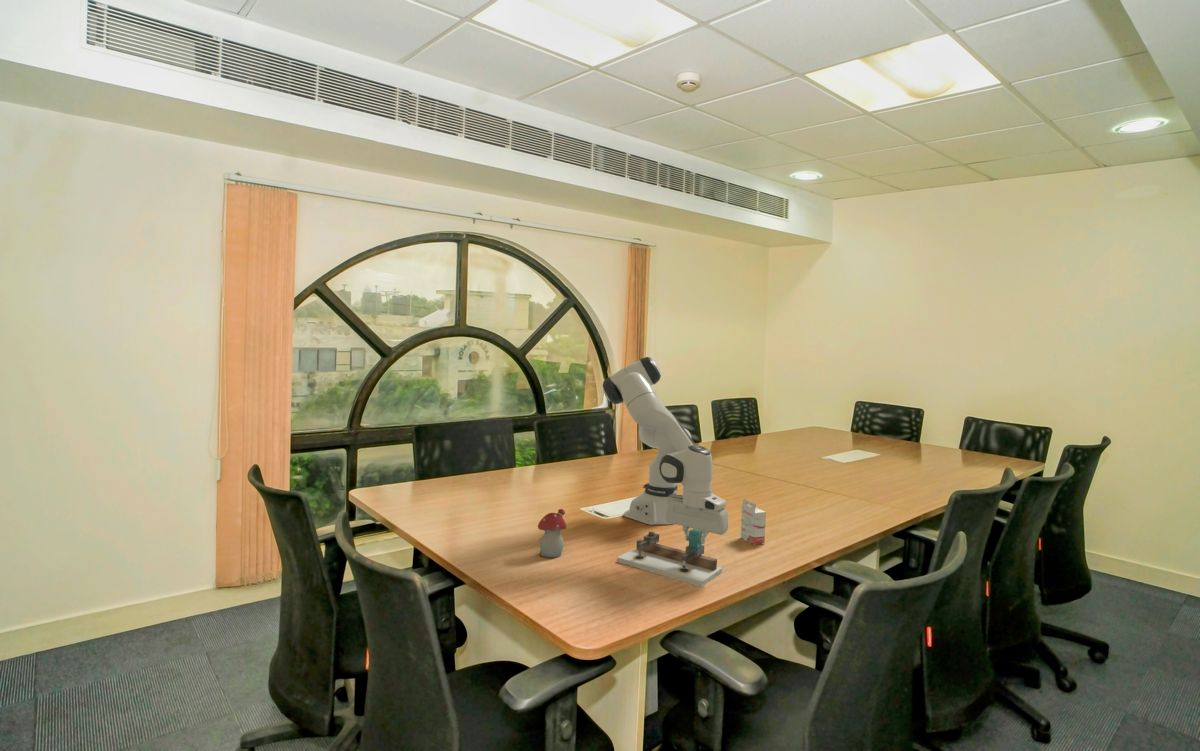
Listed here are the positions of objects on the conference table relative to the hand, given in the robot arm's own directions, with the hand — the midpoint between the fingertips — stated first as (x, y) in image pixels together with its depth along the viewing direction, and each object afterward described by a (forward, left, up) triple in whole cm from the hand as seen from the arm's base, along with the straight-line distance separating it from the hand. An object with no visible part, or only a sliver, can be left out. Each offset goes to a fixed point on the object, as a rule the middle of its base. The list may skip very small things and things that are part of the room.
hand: (695, 542), depth 186 cm
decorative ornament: (-42, -20, -9) cm, 47 cm away
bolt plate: (-7, -4, -9) cm, 12 cm away
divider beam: (-7, -2, -7) cm, 10 cm away
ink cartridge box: (+4, +38, -9) cm, 39 cm away
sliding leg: (0, -2, -6) cm, 7 cm away
